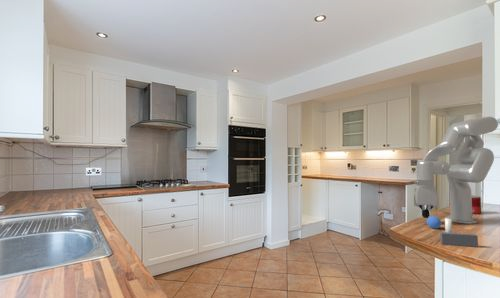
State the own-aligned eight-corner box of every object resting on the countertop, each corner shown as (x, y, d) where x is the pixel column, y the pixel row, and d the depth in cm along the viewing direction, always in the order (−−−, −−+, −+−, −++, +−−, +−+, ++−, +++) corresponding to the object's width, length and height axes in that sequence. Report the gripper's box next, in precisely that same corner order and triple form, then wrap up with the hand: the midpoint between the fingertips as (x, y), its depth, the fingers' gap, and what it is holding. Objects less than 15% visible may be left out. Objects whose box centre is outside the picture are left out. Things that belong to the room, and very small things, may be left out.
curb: (440, 242, 106) (439, 232, 106) (475, 245, 102) (474, 234, 103) (442, 244, 104) (441, 233, 104) (478, 247, 101) (477, 235, 101)
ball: (430, 226, 132) (429, 214, 132) (443, 228, 127) (443, 216, 127) (424, 227, 129) (424, 216, 129) (438, 230, 124) (437, 218, 124)
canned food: (484, 214, 156) (483, 196, 156) (469, 214, 158) (468, 196, 158) (476, 212, 163) (475, 195, 164) (461, 211, 165) (461, 194, 165)
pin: (447, 237, 114) (446, 217, 114) (453, 238, 112) (452, 218, 112) (444, 238, 112) (443, 218, 113) (451, 239, 110) (450, 219, 111)
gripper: (411, 183, 137) (411, 217, 136) (444, 184, 132) (445, 220, 131) (407, 182, 144) (407, 215, 143) (438, 183, 139) (439, 217, 138)
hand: (425, 217), depth 137 cm, fingers closed
